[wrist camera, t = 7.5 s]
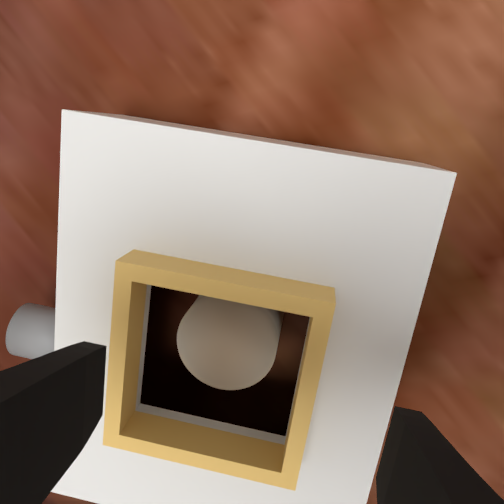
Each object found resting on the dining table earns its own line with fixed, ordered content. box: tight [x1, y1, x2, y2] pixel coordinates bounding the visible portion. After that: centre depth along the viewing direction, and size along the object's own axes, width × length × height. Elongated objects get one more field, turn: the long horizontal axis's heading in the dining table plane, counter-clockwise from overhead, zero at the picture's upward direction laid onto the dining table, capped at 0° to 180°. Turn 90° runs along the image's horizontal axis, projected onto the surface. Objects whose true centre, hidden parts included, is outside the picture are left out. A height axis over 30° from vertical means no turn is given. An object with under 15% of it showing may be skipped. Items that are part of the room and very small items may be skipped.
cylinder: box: [177, 295, 284, 390], centre depth 20 cm, size 4×4×4 cm
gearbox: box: [6, 109, 457, 504], centre depth 19 cm, size 16×16×6 cm
